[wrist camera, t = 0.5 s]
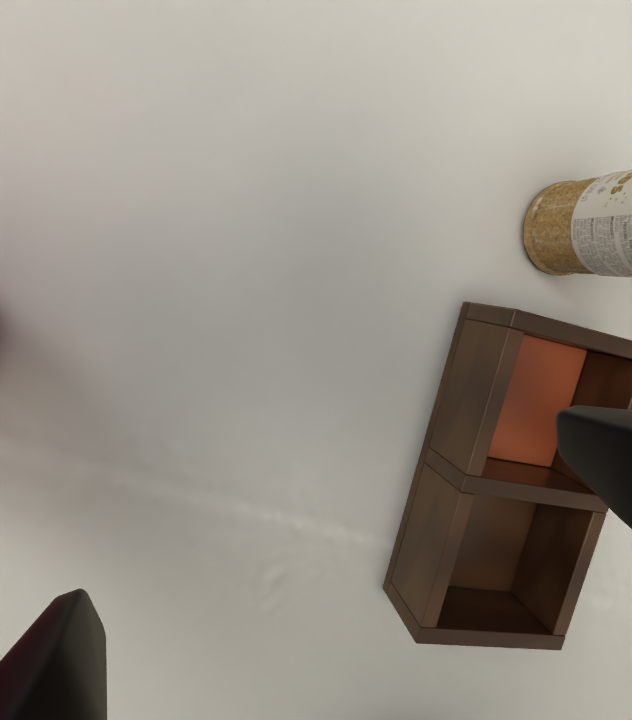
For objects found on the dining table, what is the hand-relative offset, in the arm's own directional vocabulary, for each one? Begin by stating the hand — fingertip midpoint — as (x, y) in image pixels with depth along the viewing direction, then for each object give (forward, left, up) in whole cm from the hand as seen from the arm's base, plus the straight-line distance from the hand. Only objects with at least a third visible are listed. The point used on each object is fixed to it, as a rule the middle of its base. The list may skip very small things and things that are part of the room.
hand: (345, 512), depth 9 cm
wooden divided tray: (-10, -10, -14) cm, 20 cm away
